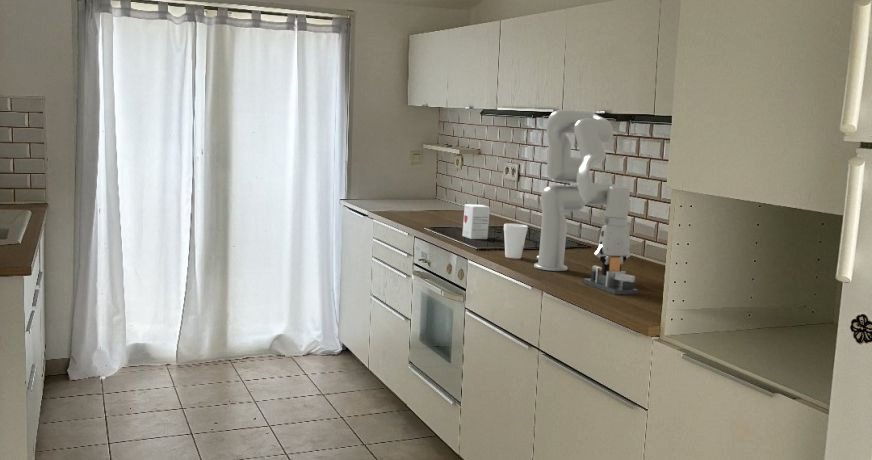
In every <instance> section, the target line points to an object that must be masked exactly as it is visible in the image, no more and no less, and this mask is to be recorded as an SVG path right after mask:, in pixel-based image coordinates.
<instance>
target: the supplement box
mask: <svg viewBox="0 0 872 460" xmlns="http://www.w3.org/2000/svg"><path fill="white" fill-rule="evenodd" d="M490 211H491V206H487V205H484V204H473V203H472V204H471V203H467V204H466V203H465V204H464V210H463V224H462V236H461V237H464V238H467V239H470V240H487V239H488V236H489V225H490V224H489V223H490V214H491V213H490Z"/></svg>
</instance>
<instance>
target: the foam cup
mask: <svg viewBox="0 0 872 460" xmlns="http://www.w3.org/2000/svg"><path fill="white" fill-rule="evenodd" d="M527 233H528V225H526V224H519V223H504V224H503V234H504V256H505V257H506V258H510V259H521V258H522V255H523V251H524V245H525V242H526V237H527V236H526V235H527Z"/></svg>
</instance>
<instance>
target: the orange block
mask: <svg viewBox="0 0 872 460" xmlns="http://www.w3.org/2000/svg"><path fill="white" fill-rule="evenodd" d="M620 261H621V257H617V256H610V258H609V262H608V265H609V271H620ZM603 276H604V275H603ZM605 277H606V276H605Z"/></svg>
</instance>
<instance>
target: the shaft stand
mask: <svg viewBox="0 0 872 460" xmlns="http://www.w3.org/2000/svg"><path fill="white" fill-rule="evenodd" d="M626 273H627V272H626V271H625V270H624V271H623V270H621V271H607V275H606V277H605V276H603V275H602V266H599V265H595V264H594V265H592V267H591V272H590V278H588V277H587V278H586V277H585V278H582V283H583V284H585V285H587V286H590V287H593V288H595V287H596V289H598V288H599V290H601V289H602V290H601V291H603V290H605V291H604V292H606V291H607V293H609V292H610V293H609V294H611V293H612V295H614V294H617V295H618V294H619V295H621V294H623V295H624V296H625V295H638V292H639V291H638V289H637V288H635V279H636V276H635V275H630V274H628V273H627V274H626ZM619 295H618V296H619ZM621 296H622V295H621Z"/></svg>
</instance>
